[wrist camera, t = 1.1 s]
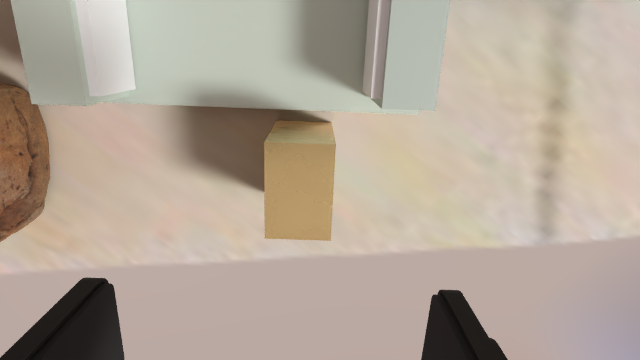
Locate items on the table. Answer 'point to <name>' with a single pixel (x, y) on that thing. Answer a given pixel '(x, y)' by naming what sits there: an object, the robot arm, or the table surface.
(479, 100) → the table surface
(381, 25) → the sliding jaw
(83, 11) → the vise body
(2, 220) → the block
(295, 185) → the tan rectangular workpiece
